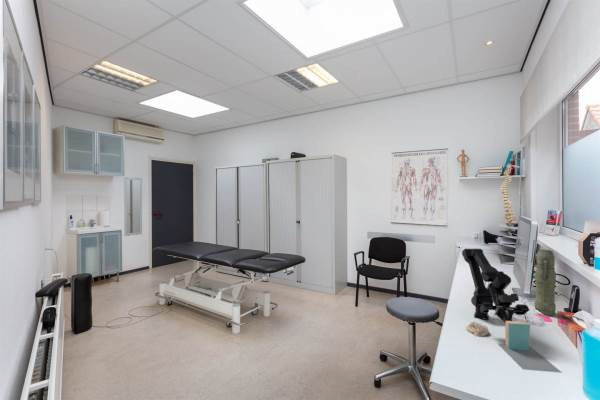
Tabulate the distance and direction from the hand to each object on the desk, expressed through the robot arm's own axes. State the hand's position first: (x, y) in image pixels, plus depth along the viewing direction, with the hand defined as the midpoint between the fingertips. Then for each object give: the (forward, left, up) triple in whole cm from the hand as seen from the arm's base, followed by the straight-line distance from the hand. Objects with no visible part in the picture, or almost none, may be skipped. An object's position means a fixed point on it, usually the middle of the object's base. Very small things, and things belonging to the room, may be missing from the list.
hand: (510, 327), depth 128 cm
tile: (+5, +2, -7) cm, 8 cm away
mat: (+10, +5, -7) cm, 14 cm away
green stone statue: (-50, +17, -7) cm, 54 cm away
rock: (-3, -13, -8) cm, 15 cm away
